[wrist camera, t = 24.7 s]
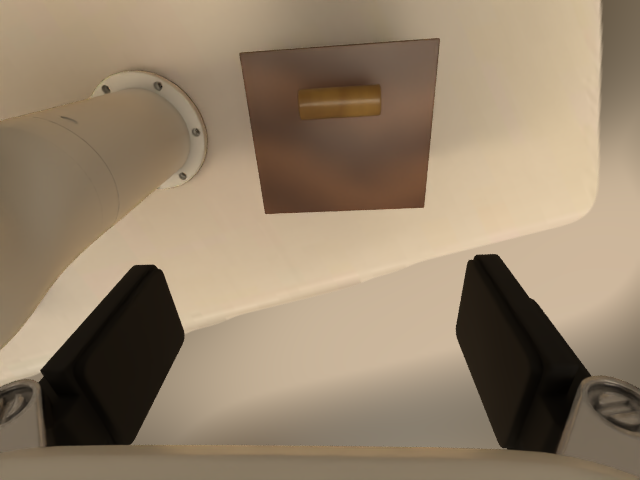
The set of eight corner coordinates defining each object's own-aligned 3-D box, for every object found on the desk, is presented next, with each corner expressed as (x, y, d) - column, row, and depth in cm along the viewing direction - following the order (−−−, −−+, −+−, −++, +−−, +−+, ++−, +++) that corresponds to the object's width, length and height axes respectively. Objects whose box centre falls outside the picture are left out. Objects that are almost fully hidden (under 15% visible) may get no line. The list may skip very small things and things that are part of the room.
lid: (241, 52, 25) (218, 56, 20) (437, 38, 24) (462, 39, 19) (266, 210, 31) (253, 242, 26) (422, 203, 30) (438, 236, 25)
